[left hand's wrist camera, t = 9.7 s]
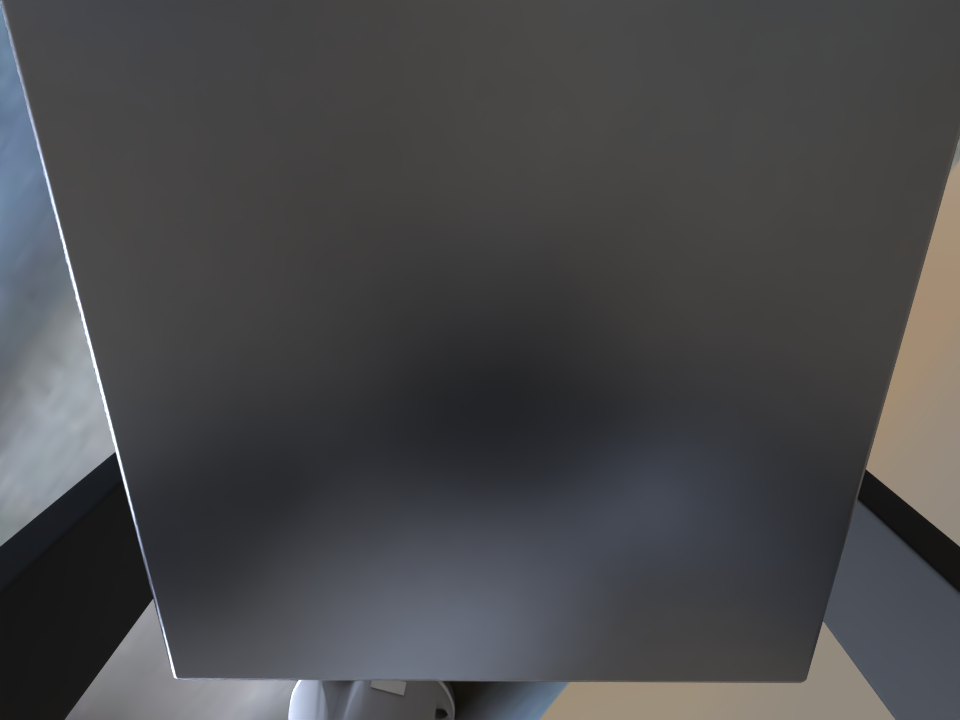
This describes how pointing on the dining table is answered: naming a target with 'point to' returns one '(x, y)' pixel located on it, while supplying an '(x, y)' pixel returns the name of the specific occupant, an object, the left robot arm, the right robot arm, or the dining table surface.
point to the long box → (492, 316)
